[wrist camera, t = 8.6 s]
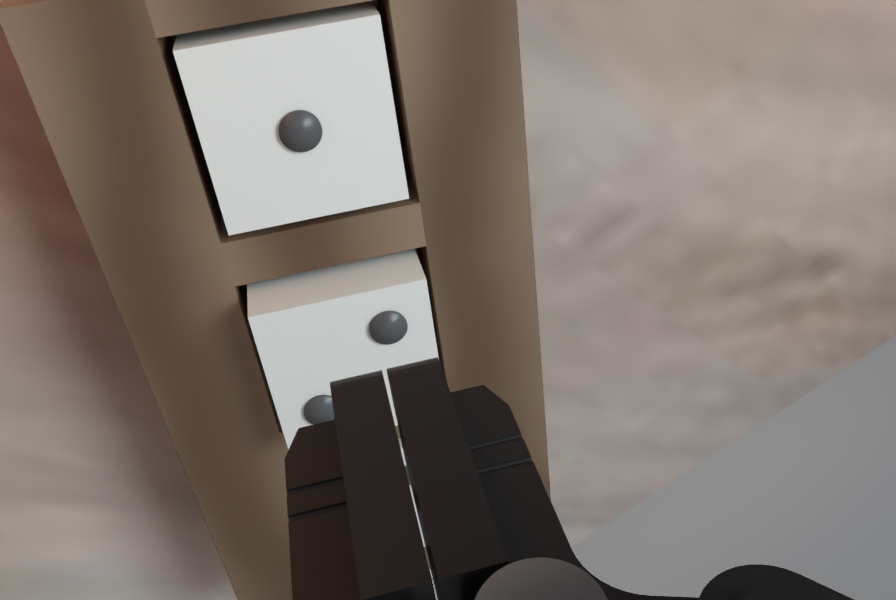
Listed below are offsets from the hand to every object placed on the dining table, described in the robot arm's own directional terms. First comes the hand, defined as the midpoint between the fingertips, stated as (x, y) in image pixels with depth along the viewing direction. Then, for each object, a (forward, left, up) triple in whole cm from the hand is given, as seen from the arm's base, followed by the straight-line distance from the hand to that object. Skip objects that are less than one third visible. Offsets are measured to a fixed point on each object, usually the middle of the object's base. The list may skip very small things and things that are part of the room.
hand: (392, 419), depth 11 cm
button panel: (+1, +7, -15) cm, 17 cm away
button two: (+1, +7, -13) cm, 15 cm away
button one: (+1, 0, -14) cm, 14 cm away
